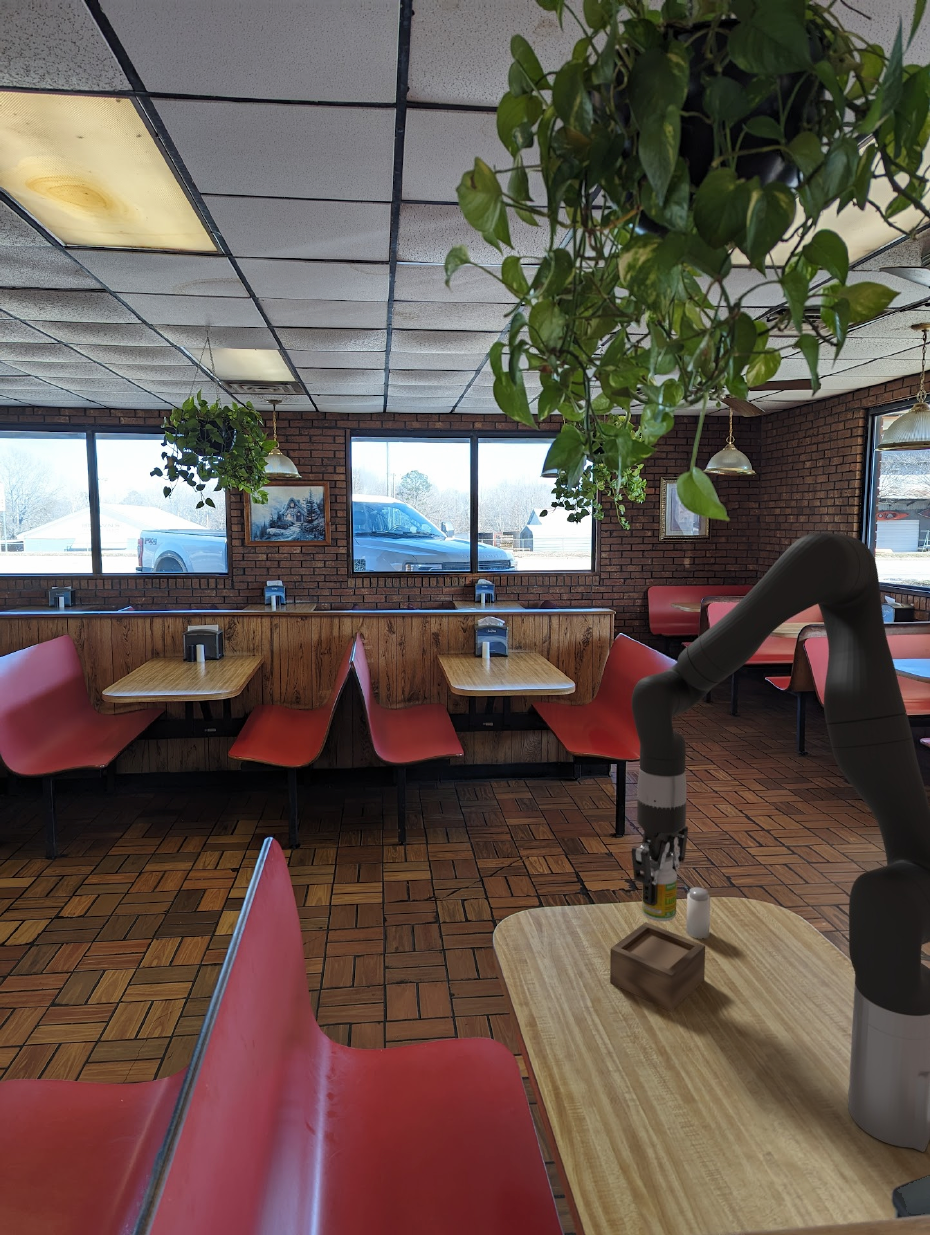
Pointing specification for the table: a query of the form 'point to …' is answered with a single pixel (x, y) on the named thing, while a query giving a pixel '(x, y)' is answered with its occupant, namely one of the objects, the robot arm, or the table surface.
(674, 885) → the supplement bottle
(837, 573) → the robot arm
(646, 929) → the walnut tray
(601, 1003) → the table surface
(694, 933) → the sugar shaker
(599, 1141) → the table surface
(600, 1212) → the table surface
